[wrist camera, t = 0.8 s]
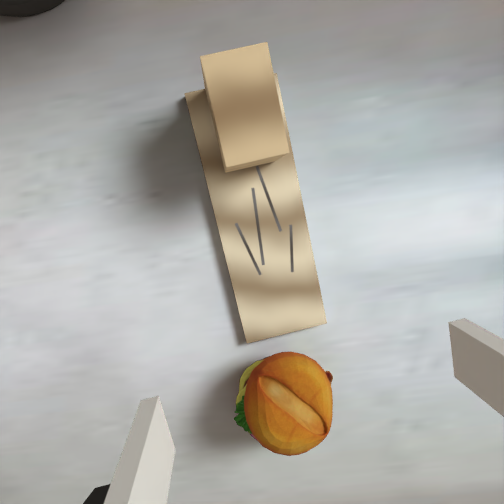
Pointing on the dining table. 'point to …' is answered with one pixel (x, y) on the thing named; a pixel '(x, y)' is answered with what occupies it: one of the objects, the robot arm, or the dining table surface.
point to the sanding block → (244, 106)
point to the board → (261, 234)
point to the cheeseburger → (285, 403)
